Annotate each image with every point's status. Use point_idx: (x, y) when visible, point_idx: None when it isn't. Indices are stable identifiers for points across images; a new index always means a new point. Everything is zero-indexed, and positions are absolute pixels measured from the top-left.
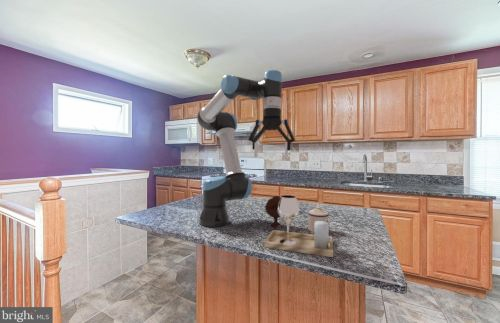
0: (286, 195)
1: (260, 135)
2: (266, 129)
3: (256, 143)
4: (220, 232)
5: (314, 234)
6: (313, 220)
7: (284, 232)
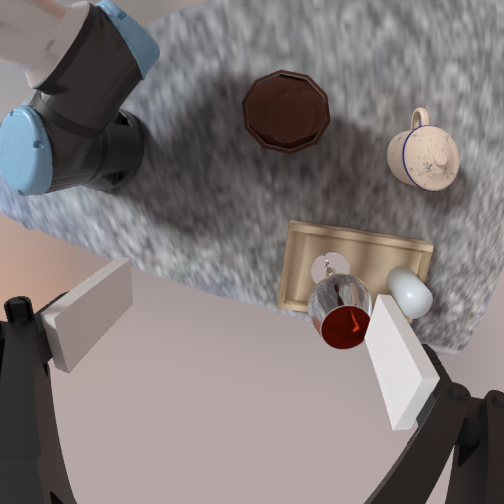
0: (340, 306)
1: (51, 422)
2: (46, 495)
3: (71, 360)
4: (150, 218)
5: (393, 293)
6: (410, 182)
7: (322, 234)
